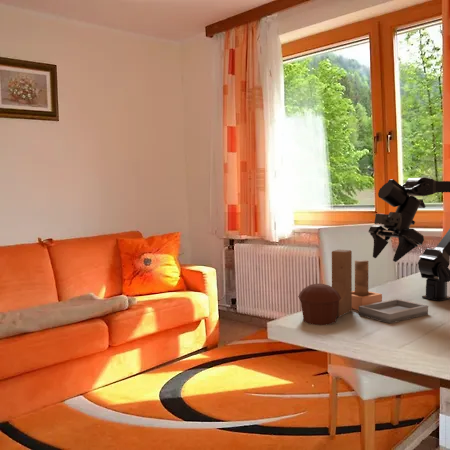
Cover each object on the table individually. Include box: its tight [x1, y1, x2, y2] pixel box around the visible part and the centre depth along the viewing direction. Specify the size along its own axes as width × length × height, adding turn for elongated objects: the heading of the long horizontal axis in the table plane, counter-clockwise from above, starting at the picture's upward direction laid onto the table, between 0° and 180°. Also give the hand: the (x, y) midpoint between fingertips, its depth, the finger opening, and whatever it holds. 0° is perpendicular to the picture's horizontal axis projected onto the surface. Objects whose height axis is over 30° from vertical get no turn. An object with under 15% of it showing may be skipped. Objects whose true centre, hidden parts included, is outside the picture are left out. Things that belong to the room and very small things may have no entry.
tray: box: [358, 298, 429, 324], centre depth 145 cm, size 16×11×2 cm
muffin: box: [298, 283, 341, 326], centre depth 140 cm, size 12×11×10 cm
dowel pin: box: [354, 259, 369, 297], centre depth 155 cm, size 4×4×14 cm
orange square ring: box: [352, 290, 383, 311], centre depth 155 cm, size 8×8×4 cm
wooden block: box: [331, 249, 353, 318], centre depth 148 cm, size 9×4×18 cm, turn 143°
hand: (383, 259), depth 155 cm, fingers open, 9 cm apart
